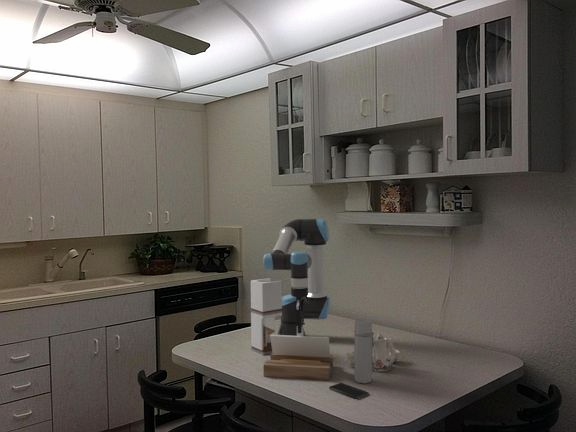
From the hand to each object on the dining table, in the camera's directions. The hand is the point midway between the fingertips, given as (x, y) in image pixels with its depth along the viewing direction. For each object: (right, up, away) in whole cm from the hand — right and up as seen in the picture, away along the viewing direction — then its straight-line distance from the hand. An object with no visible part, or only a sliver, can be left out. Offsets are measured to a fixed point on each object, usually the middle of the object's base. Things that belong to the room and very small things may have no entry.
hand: (300, 339), depth 228 cm
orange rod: (0, -12, +1) cm, 12 cm away
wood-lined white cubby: (-16, -12, +29) cm, 35 cm away
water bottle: (+27, -14, -15) cm, 34 cm away
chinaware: (+35, -13, +3) cm, 37 cm away
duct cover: (0, -3, 0) cm, 3 cm away
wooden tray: (0, -13, -2) cm, 13 cm away
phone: (+18, -15, -27) cm, 35 cm away
